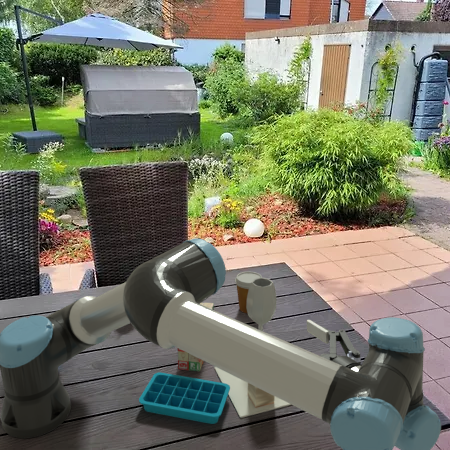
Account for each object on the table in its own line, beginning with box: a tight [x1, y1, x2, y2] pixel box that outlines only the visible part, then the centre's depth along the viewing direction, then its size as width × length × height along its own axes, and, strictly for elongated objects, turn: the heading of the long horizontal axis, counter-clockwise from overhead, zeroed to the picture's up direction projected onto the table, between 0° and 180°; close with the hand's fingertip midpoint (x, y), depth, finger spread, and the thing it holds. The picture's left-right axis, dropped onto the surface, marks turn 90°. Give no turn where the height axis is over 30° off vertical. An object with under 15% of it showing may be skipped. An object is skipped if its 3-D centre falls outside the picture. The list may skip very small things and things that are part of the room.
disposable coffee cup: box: [234, 271, 263, 314], centre depth 151 cm, size 10×10×12 cm
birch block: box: [248, 383, 275, 408], centre depth 109 cm, size 5×5×11 cm
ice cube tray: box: [138, 371, 230, 425], centre depth 109 cm, size 12×20×3 cm, turn 76°
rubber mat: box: [213, 366, 293, 419], centre depth 116 cm, size 14×20×1 cm
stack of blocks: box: [176, 302, 215, 372], centre depth 130 cm, size 21×6×12 cm, turn 171°
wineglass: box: [246, 276, 277, 332], centre depth 129 cm, size 9×9×21 cm
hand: (282, 335), depth 96 cm, fingers open, 13 cm apart
